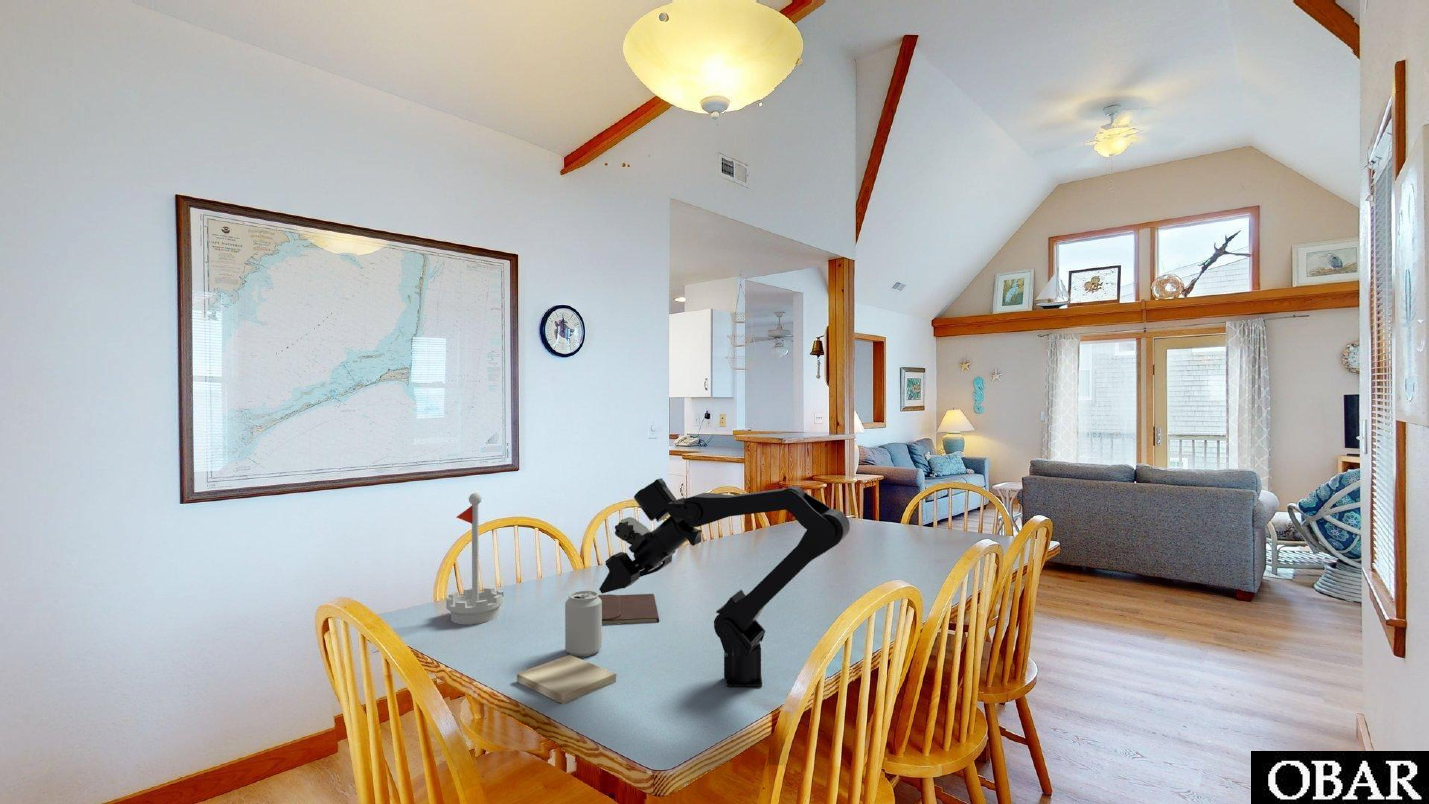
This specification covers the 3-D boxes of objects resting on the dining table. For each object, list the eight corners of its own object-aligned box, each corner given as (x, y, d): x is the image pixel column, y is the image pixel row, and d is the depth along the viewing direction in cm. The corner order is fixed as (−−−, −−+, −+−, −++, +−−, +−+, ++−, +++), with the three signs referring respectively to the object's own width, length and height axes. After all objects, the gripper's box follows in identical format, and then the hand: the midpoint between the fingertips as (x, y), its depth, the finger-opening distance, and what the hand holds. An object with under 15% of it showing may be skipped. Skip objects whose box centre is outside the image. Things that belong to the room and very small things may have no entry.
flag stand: (481, 605, 170) (481, 488, 170) (514, 614, 163) (514, 491, 162) (435, 619, 159) (434, 494, 159) (468, 629, 152) (468, 498, 152)
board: (516, 681, 123) (516, 673, 123) (569, 662, 132) (569, 654, 132) (562, 703, 114) (562, 695, 114) (616, 681, 123) (616, 673, 123)
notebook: (654, 599, 176) (654, 592, 176) (659, 624, 157) (659, 615, 157) (596, 602, 174) (596, 594, 174) (594, 627, 154) (594, 618, 154)
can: (558, 651, 138) (558, 593, 138) (588, 642, 144) (588, 586, 144) (578, 661, 133) (578, 601, 133) (609, 651, 138) (608, 593, 138)
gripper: (662, 500, 140) (613, 543, 145) (617, 514, 123) (564, 563, 128) (694, 542, 138) (643, 585, 142) (652, 563, 120) (596, 611, 125)
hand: (612, 585), depth 134 cm, fingers open, 9 cm apart
